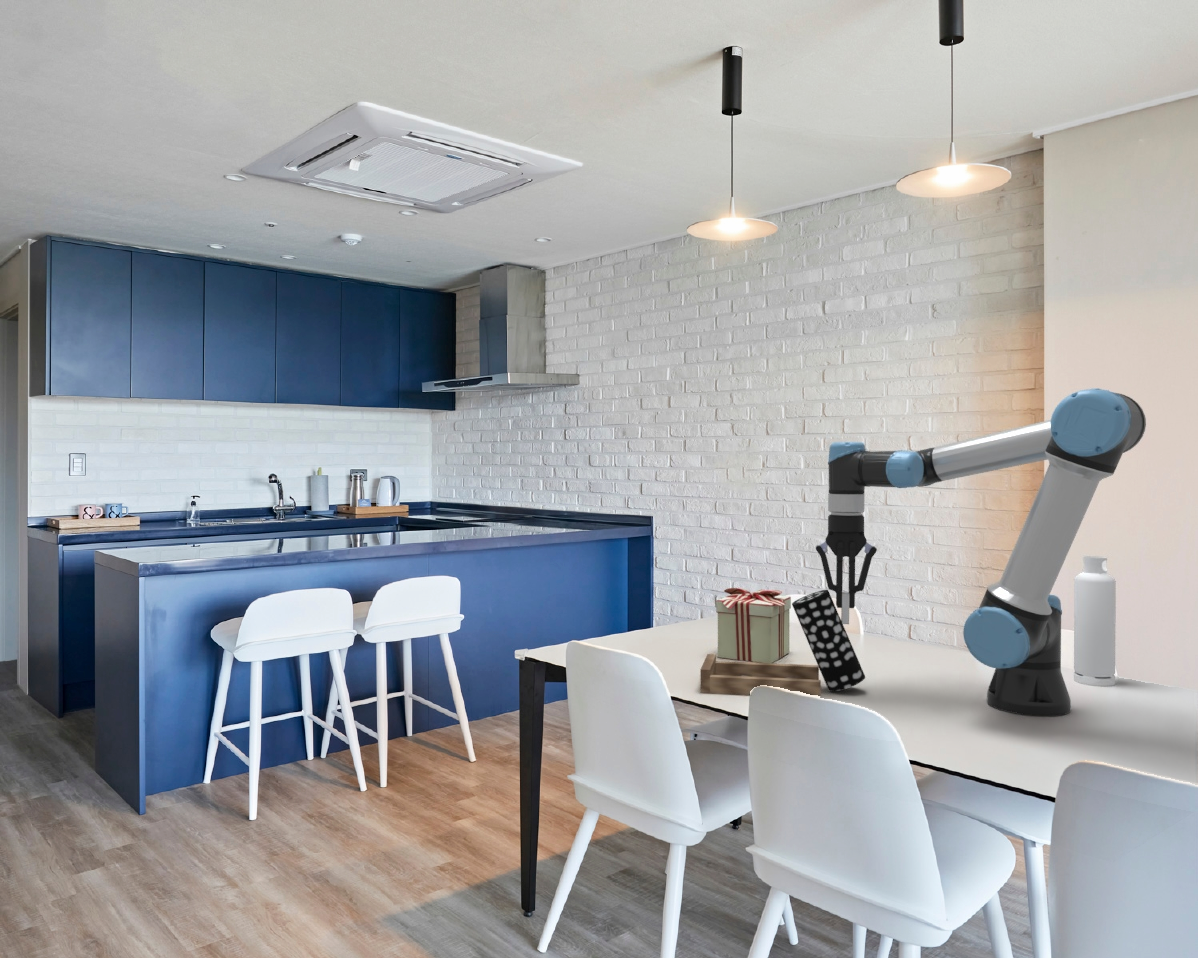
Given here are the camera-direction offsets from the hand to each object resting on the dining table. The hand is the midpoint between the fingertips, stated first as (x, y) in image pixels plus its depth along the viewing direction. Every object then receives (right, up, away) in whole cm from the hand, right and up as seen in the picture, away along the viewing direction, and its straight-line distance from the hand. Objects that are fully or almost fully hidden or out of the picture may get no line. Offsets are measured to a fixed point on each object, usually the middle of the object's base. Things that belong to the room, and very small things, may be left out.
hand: (845, 622), depth 192 cm
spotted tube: (0, -13, 0) cm, 13 cm away
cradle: (-17, -15, +4) cm, 23 cm away
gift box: (-13, -15, +34) cm, 40 cm away
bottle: (+58, -15, +8) cm, 60 cm away
